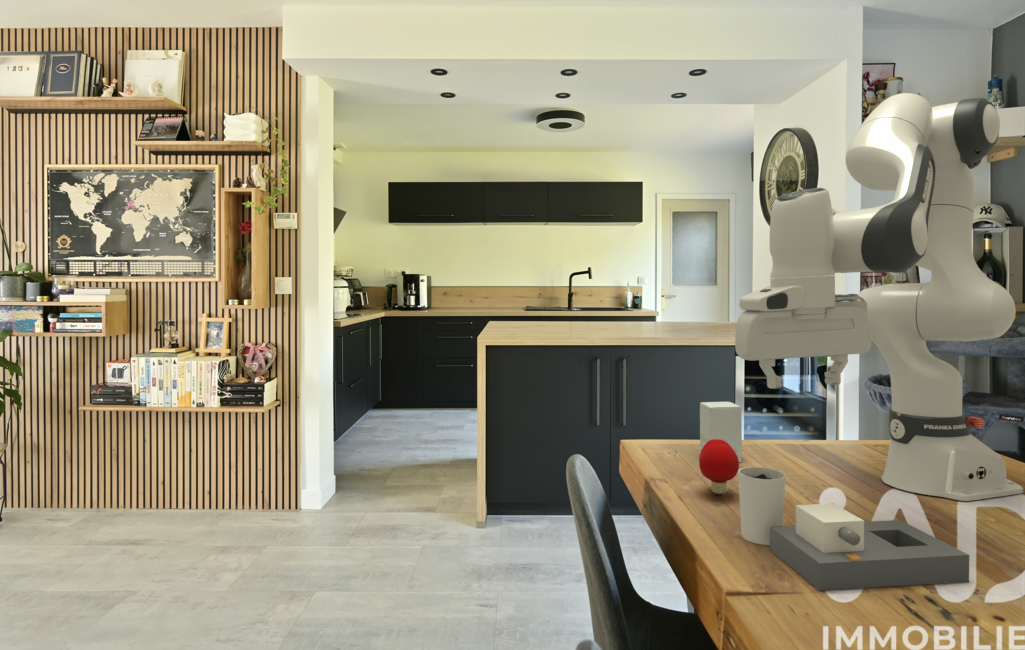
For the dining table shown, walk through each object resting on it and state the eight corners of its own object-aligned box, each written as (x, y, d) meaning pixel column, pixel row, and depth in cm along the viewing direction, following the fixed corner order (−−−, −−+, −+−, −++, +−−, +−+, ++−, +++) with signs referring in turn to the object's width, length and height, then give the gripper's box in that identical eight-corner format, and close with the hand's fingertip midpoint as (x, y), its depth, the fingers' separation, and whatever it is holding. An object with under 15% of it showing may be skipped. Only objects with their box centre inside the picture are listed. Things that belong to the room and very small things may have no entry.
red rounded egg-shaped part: (743, 504, 104) (743, 449, 103) (702, 502, 105) (702, 447, 105) (734, 487, 113) (734, 436, 112) (696, 486, 114) (696, 435, 114)
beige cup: (732, 528, 93) (731, 467, 93) (774, 528, 93) (774, 466, 92) (747, 546, 86) (747, 479, 86) (793, 546, 86) (793, 479, 86)
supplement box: (742, 462, 130) (742, 406, 129) (709, 463, 130) (709, 407, 130) (730, 454, 137) (730, 400, 137) (699, 454, 137) (699, 401, 137)
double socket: (899, 543, 86) (899, 517, 86) (969, 581, 74) (969, 552, 74) (769, 550, 85) (769, 524, 85) (819, 590, 73) (819, 561, 73)
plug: (832, 552, 83) (832, 503, 82) (874, 580, 74) (874, 526, 74) (795, 554, 82) (795, 505, 82) (833, 582, 74) (833, 528, 74)
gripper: (852, 292, 93) (853, 378, 94) (729, 299, 91) (731, 386, 92) (880, 293, 87) (881, 384, 87) (749, 299, 85) (751, 393, 86)
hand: (803, 386), depth 90 cm, fingers open, 8 cm apart
